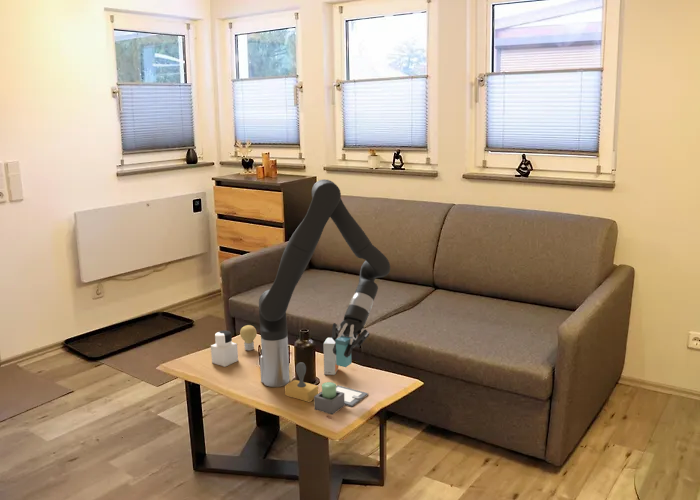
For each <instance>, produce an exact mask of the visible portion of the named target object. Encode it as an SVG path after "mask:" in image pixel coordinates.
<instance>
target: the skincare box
mask: <svg viewBox="0 0 700 500" xmlns="http://www.w3.org/2000/svg"><path fill="white" fill-rule="evenodd" d="M334 345H335V341H334V340H333V339H332V337H327V338H326V339H325V341H324V342H323V345H322V346H323V348H322V349H323V375H330V376H331V375H332V376H335V375H336V374H337V372H338V370H339V366H338V365H336V355H335V354H334V353H333V348H334Z"/></svg>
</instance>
